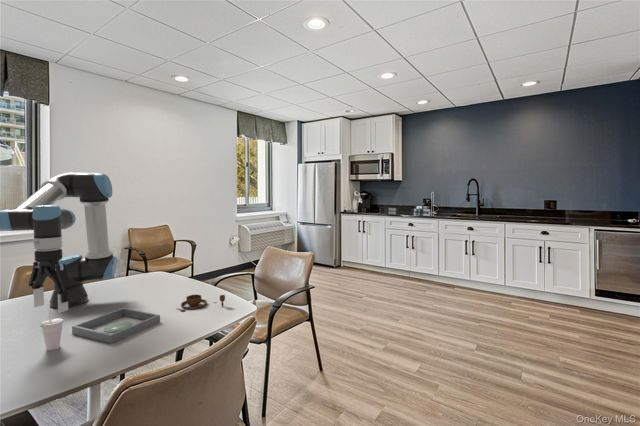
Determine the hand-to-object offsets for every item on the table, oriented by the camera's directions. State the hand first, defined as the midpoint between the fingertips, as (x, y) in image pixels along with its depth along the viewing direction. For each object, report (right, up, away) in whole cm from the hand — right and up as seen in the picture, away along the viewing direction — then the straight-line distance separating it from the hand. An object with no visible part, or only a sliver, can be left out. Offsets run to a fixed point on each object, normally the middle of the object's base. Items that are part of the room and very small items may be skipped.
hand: (51, 308), depth 116 cm
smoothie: (0, -15, +1) cm, 15 cm away
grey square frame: (+12, -13, +19) cm, 26 cm away
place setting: (+37, -13, +44) cm, 58 cm away
